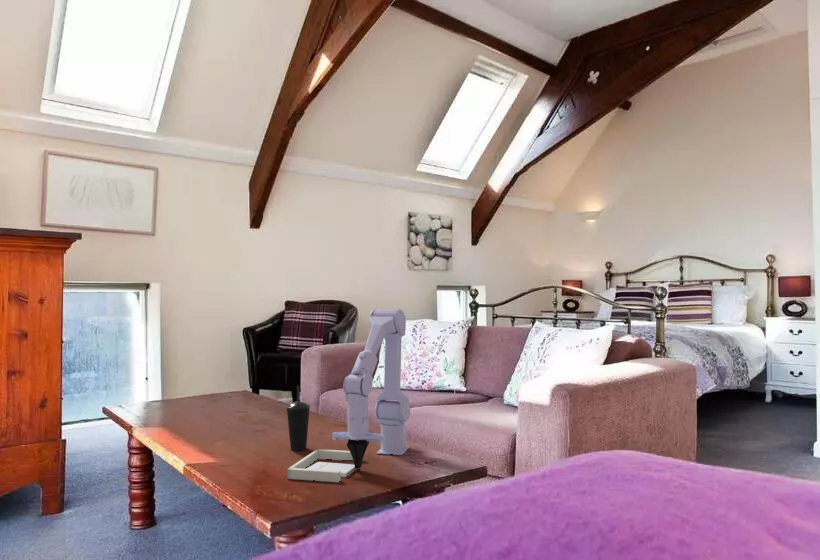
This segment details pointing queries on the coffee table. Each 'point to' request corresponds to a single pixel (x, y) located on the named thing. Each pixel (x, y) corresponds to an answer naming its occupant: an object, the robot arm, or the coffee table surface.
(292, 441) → the drinking cup
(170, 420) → the coffee table surface
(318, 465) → the external hard drive
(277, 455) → the coffee table surface
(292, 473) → the open u-shaped rail
